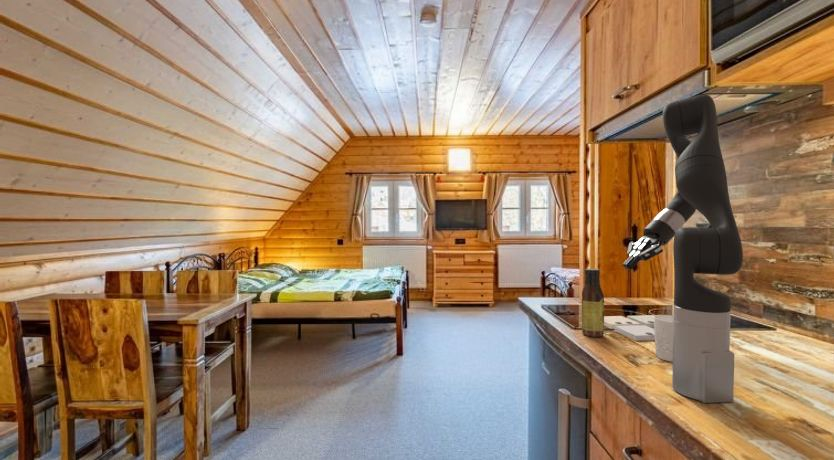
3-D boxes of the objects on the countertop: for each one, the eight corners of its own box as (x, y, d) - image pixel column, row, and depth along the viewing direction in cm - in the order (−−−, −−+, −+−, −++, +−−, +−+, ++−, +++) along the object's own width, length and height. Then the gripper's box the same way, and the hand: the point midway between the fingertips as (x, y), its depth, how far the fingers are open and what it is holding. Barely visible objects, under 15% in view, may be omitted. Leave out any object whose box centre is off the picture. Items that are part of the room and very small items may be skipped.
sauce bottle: (608, 338, 115) (608, 270, 114) (586, 338, 115) (587, 270, 115) (598, 331, 122) (598, 267, 121) (577, 331, 122) (578, 267, 121)
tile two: (640, 328, 125) (640, 322, 125) (610, 329, 124) (611, 323, 124) (621, 320, 135) (621, 315, 135) (593, 320, 134) (593, 316, 134)
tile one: (667, 339, 113) (668, 333, 113) (635, 340, 113) (635, 334, 112) (644, 330, 123) (644, 324, 123) (614, 330, 122) (614, 325, 122)
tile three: (675, 327, 127) (675, 322, 126) (646, 328, 126) (646, 322, 126) (654, 319, 136) (654, 314, 136) (626, 320, 136) (627, 315, 135)
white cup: (690, 356, 100) (691, 317, 99) (690, 366, 93) (691, 324, 93) (654, 350, 104) (654, 313, 104) (652, 359, 98) (652, 319, 97)
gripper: (641, 218, 126) (605, 256, 125) (672, 218, 113) (632, 261, 112) (656, 234, 127) (620, 272, 126) (689, 236, 114) (649, 279, 113)
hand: (626, 267), depth 119 cm, fingers closed
